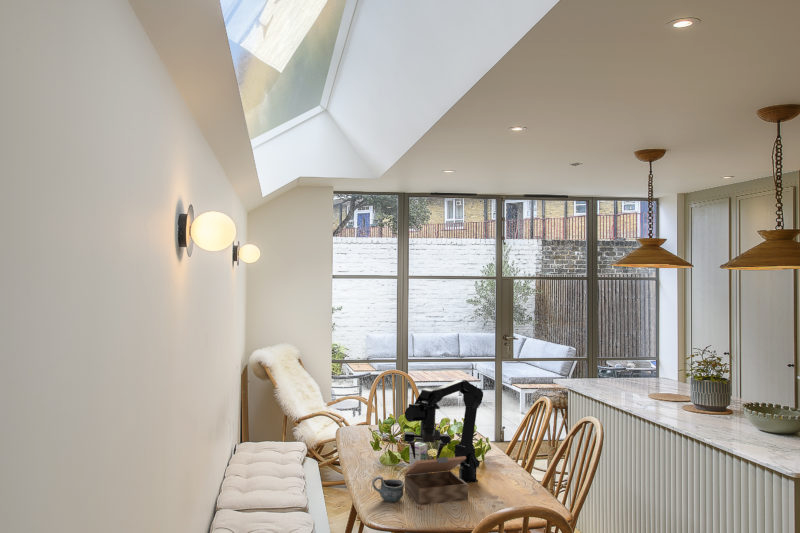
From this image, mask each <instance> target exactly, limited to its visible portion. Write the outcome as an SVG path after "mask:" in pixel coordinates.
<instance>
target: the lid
mask: <svg viewBox="0 0 800 533" xmlns="http://www.w3.org/2000/svg"><path fill="white" fill-rule="evenodd" d="M465 459H466V456H462V457H455V456H453V457H447V456H444V457H443V456H442V457H439V458H437V457H436V458H433V459H432V458H431V459H427V460H419V461H416V462H415V463H414V464H413V465H412V466H411V467H410V466H409V467H408V468H407V469H406V470H405V471H404V472H403V475H404V476H405V475H412V474H422V473H434V472H444V471H451V472H452V470H453V469H455V468H456V467H458V466H460V465H459V464H460V463H461V462H463V461H464V460H465Z"/></svg>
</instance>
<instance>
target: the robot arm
mask: <svg viewBox="0 0 800 533" xmlns="http://www.w3.org/2000/svg"><path fill="white" fill-rule="evenodd" d="M457 392H459V393H461V395H463V396H462V398H463V399H462V401H463V403H464V404H463V405H464V406H465V408H464V410H465V411H464V414H463V415H464V416H463V424H462V432H461V439H460V442H459V443H458V444H457V443H456V444H455V445H454V452H453V455H454V457H462V456H466V459H465V460H464V461H463V462H461V463H460V464H459V465H458V466H459V469H458V477H459V478H460V479H462V480H463V481H464V482H466V483H467V484H468V483H474V482H475V483H476V482H479V479H478V478H477V468H479V467H480V463H481V462H480V460H479V459H478V458H477V456H476V448H475V446H474V443H473V441H474V434H475V427H476V419H477V412H478V408H479V407H480V405H481V404H482V402H483V398H484V391H483V390H482V389H481V387H477V386H476V385H474V384H472V383H470V382H469V381H468V380H466V379H463V378H458V379H456V380H454V381H450V382H448V383H446V384H442V385H440V386H436V387H423V389H421V391H420V392H419V393H420V394H419V395H418V396H417V398H416V400H415V402H414V403H409V404H408V406H407V407H406V409H405V411H404V418H405V420H406V422H409V423H412V422H420V430H419V431H420V432H419V434H415V433H414V432H413V431H405V432H404V433H403V441H404V442H406V443H407V444H409V445H411V448H412V452H413V456H414V459H415V443H416V442H415V440H416V441H417V440H422V443H435V442H436V441H437V442H438V444H437V450H436V459H437V458H440V455H441V453H442V451H443V449H444V447H446V446H448V444H449V445H450V444H452V443H451V440H452V439H451V438H452V437H451V436H450V435H449V434H448V433H441V429H435V428H436V427H435V426H436V411H437V410H440V409H441V407H440V406H439V405H438V403H439V402H441V401H442V399H443V398H445V397H447V396H450V395H452V394H455V393H457Z"/></svg>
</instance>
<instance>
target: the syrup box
mask: <svg viewBox="0 0 800 533" xmlns="http://www.w3.org/2000/svg"><path fill="white" fill-rule="evenodd" d="M408 449H409V468H410V467H411V466H412V465H413V464H414V463H415V462H416V461H419V460H428V444H427V442H420V441H416V442H415V459H414V456H413V452H412V448H411V445H410V444H409V448H408ZM422 474H425V473H422ZM412 475H415V474H412Z"/></svg>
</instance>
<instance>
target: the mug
mask: <svg viewBox="0 0 800 533" xmlns="http://www.w3.org/2000/svg"><path fill="white" fill-rule="evenodd" d="M377 480H380V487H379V488H377V486H376V485H375V483H376V481H377ZM371 483H372V484H371V485H372V487H373V489H374V490H375V491H377V492H378V493H379V495H380V498H382V499H383V500H384V501H385V502H388V503H396V502H398V501H400V500H401V499H402V498H403V495H404V487H405V481H403V480H401V479H395V478H390V479H384V478H383V476H382V475H376V476H375V477H373V478H372V482H371Z"/></svg>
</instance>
